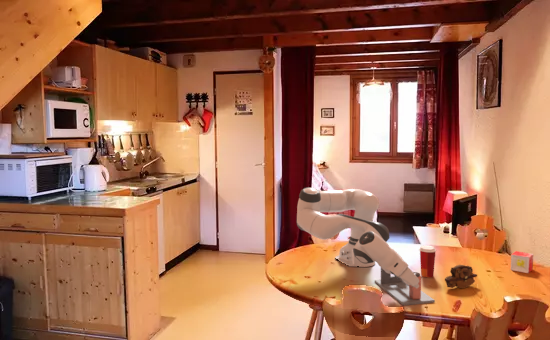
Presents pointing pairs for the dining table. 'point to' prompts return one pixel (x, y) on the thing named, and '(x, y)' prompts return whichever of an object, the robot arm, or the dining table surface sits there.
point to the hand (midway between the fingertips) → (413, 284)
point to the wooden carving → (460, 277)
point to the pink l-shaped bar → (413, 291)
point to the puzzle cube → (521, 262)
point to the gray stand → (400, 290)
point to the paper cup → (427, 260)
